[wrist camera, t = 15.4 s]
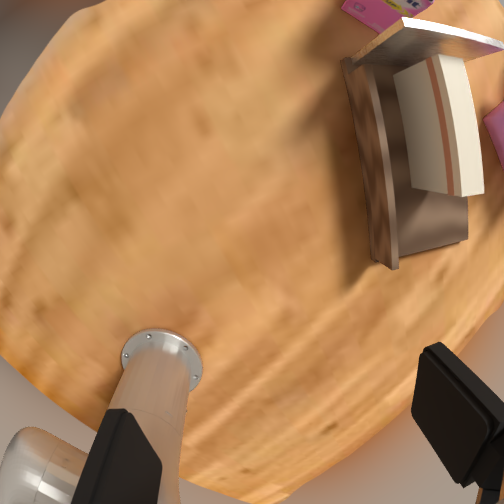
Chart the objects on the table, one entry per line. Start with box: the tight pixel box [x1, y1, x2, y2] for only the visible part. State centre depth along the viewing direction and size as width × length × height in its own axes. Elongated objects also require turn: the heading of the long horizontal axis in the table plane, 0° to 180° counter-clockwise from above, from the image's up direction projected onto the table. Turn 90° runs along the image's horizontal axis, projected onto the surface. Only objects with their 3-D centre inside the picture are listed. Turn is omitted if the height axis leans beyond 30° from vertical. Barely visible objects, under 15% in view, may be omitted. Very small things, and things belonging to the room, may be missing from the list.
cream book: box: [393, 54, 484, 197], centre depth 31 cm, size 16×4×11 cm, turn 10°
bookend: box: [351, 17, 504, 66], centre depth 27 cm, size 1×16×14 cm, turn 100°
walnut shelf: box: [340, 58, 468, 270], centre depth 35 cm, size 28×18×6 cm, turn 11°
